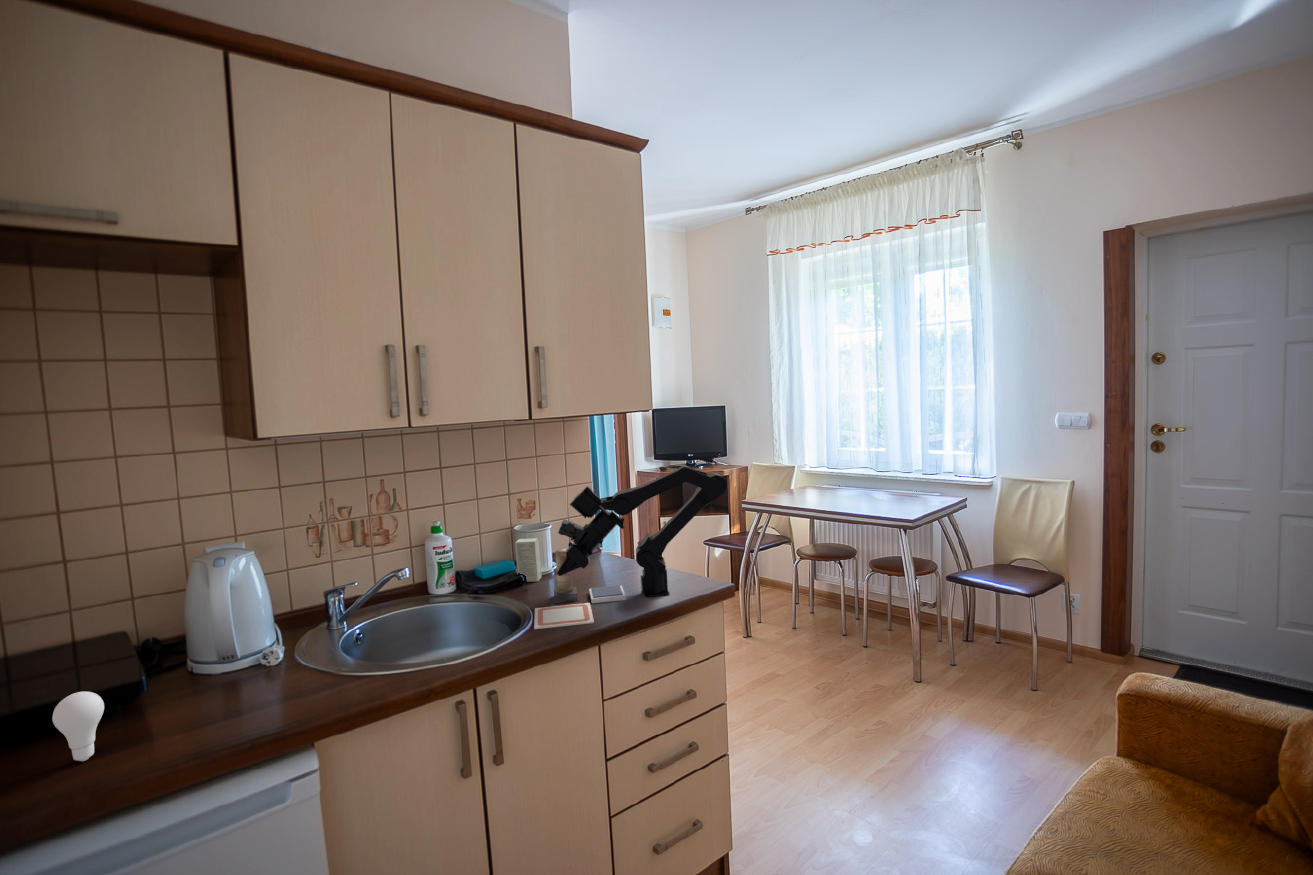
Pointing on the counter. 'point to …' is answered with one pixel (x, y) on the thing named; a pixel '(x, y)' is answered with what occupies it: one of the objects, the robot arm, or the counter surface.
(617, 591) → the ink pad
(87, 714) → the lightbulb
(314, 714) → the counter surface
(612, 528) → the robot arm
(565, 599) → the stamp
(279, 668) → the counter surface
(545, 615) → the board
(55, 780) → the counter surface
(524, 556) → the skincare box
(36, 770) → the counter surface
